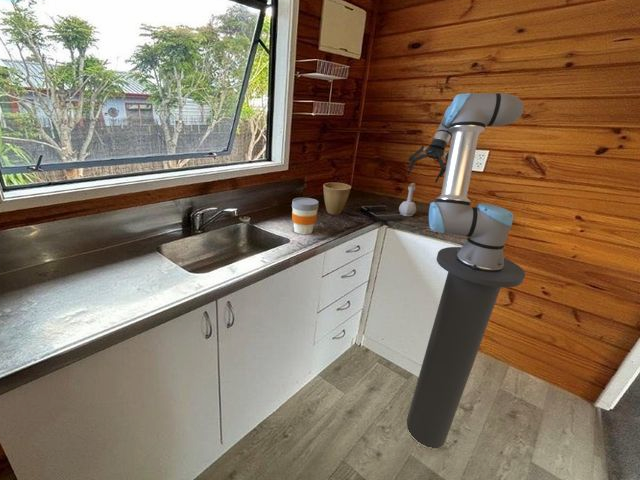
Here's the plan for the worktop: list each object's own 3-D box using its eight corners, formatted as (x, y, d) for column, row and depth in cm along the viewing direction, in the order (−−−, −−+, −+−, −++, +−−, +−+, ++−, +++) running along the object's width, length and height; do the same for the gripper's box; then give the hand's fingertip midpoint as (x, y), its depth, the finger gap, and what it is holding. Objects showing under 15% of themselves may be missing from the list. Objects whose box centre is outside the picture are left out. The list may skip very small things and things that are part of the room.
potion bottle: (418, 215, 172) (425, 184, 165) (408, 217, 168) (415, 185, 161) (404, 210, 179) (410, 180, 172) (394, 213, 175) (400, 182, 168)
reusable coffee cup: (320, 229, 149) (323, 200, 144) (309, 237, 139) (312, 206, 134) (297, 224, 156) (299, 196, 150) (285, 231, 146) (287, 201, 141)
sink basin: (384, 210, 179) (386, 201, 177) (401, 219, 164) (403, 210, 162) (359, 211, 176) (360, 202, 175) (373, 221, 162) (375, 211, 160)
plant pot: (315, 211, 175) (317, 184, 169) (333, 207, 183) (336, 181, 177) (334, 219, 163) (338, 190, 158) (353, 214, 171) (356, 186, 165)
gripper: (464, 152, 157) (446, 188, 155) (414, 140, 168) (397, 172, 166) (468, 145, 150) (449, 181, 148) (415, 132, 161) (398, 166, 160)
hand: (422, 177), depth 157 cm, fingers open, 13 cm apart
